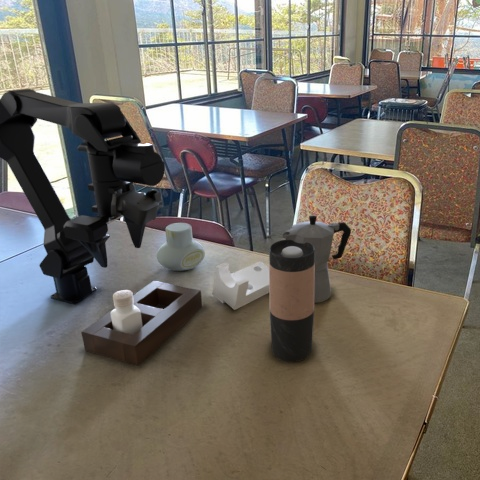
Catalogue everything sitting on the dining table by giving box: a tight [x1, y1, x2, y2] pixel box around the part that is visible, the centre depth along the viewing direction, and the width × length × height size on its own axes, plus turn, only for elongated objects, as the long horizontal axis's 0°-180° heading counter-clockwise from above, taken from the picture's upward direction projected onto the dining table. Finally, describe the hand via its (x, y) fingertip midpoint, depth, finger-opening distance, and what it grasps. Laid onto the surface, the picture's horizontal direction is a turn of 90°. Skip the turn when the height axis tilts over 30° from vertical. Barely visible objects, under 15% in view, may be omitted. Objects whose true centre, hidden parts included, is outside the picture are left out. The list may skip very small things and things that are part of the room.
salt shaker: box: [110, 289, 143, 335], centre depth 85 cm, size 4×4×10 cm
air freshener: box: [156, 222, 206, 272], centre depth 113 cm, size 11×8×10 cm
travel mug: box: [268, 239, 315, 363], centre depth 82 cm, size 8×8×20 cm
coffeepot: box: [281, 214, 352, 304], centre depth 101 cm, size 15×9×18 cm, turn 113°
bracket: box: [211, 260, 269, 311], centre depth 102 cm, size 13×7×8 cm, turn 139°
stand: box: [81, 280, 203, 366], centre depth 90 cm, size 11×20×4 cm, turn 161°
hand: (121, 257), depth 91 cm, fingers open, 9 cm apart
